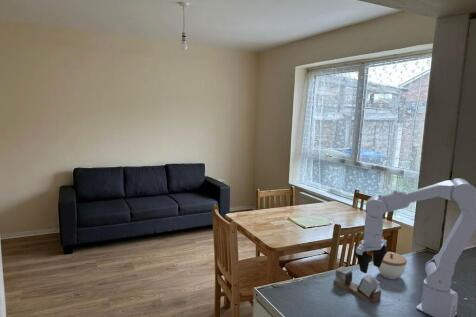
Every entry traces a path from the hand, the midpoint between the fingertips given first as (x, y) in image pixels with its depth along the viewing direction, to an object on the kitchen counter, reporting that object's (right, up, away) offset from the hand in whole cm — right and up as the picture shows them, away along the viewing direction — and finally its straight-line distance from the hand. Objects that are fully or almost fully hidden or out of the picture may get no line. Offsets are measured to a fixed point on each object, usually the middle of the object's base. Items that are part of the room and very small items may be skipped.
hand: (370, 269), depth 112 cm
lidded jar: (+14, -8, +16) cm, 23 cm away
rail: (-3, -9, +4) cm, 11 cm away
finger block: (-1, -8, +1) cm, 8 cm away
